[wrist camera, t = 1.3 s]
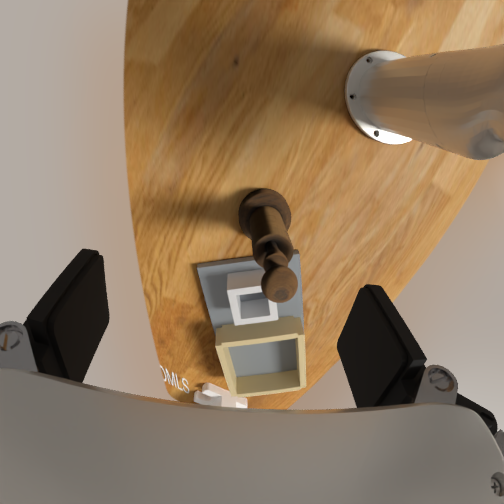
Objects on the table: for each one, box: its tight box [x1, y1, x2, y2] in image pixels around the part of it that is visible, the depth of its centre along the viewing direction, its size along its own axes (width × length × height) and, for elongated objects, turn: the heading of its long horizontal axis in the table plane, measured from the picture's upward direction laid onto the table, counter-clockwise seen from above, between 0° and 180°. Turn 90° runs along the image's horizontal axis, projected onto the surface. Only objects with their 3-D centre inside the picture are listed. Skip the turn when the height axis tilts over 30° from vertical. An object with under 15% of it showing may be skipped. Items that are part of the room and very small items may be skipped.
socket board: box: [197, 250, 306, 398], centre depth 46 cm, size 14×24×5 cm, turn 8°
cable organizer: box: [194, 383, 247, 408], centre depth 53 cm, size 5×10×10 cm, turn 52°
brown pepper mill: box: [239, 189, 298, 303], centre depth 32 cm, size 7×6×18 cm
